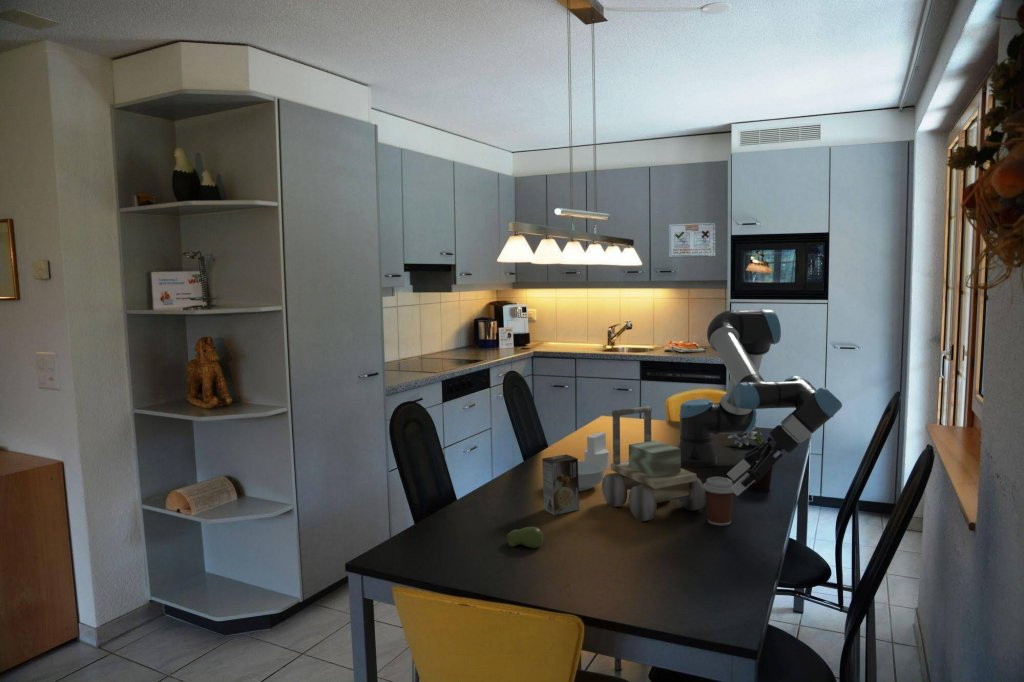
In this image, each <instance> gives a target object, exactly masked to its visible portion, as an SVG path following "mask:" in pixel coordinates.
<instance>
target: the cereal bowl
mask: <svg viewBox="0 0 1024 682" xmlns="http://www.w3.org/2000/svg"><path fill="white" fill-rule="evenodd" d="M604 473H605V469H604V468H603V466H601V465H599V464H597V463H592V462H585V461H579V460H578V483H579V492H584V491H589V490H591V488H594V487H595V486H598V485H599V484H600V483H602V481H603V478H604V475H605V474H604Z"/></svg>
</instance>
